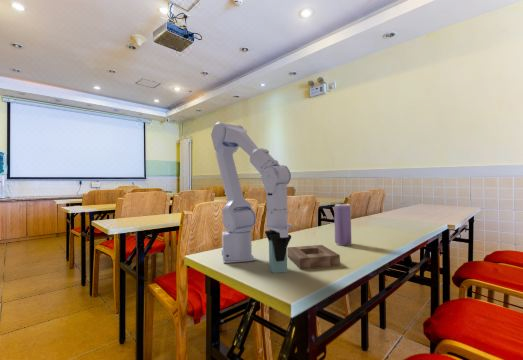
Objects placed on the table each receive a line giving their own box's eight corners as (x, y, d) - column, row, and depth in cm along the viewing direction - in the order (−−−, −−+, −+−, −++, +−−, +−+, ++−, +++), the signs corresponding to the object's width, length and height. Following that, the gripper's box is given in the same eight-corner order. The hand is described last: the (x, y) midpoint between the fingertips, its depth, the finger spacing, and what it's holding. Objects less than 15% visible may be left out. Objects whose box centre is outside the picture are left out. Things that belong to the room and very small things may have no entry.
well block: (300, 269, 71) (299, 258, 71) (287, 256, 83) (287, 247, 83) (339, 265, 73) (339, 255, 73) (322, 253, 85) (322, 244, 85)
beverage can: (348, 246, 93) (347, 205, 93) (332, 244, 97) (331, 204, 97) (353, 243, 98) (352, 204, 98) (338, 241, 102) (337, 203, 102)
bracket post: (272, 273, 68) (272, 243, 68) (269, 268, 72) (268, 239, 72) (287, 271, 69) (286, 242, 69) (283, 266, 73) (282, 238, 73)
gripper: (299, 211, 64) (300, 265, 64) (283, 206, 79) (284, 250, 79) (272, 212, 63) (273, 267, 63) (261, 206, 77) (262, 251, 77)
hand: (277, 258), depth 71 cm, fingers closed on bracket post, 4 cm apart
